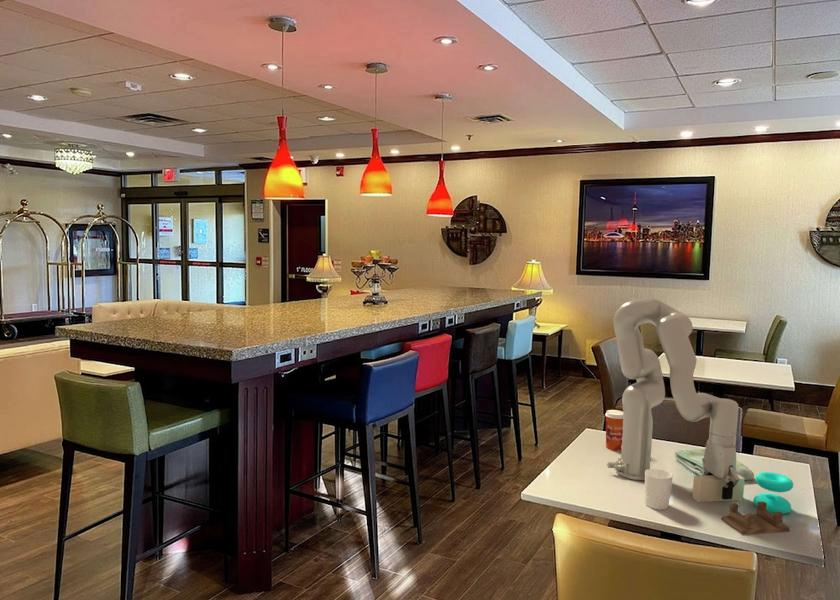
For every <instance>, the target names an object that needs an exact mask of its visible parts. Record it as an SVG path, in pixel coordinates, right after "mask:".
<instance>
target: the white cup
mask: <svg viewBox="0 0 840 600" xmlns="http://www.w3.org/2000/svg"><path fill="white" fill-rule="evenodd" d="M673 476H674V475H673V474H672V473H671V472H670V471H668V470H665V469H661V468H650V469H647V470H645V480H644V504H645V506H646V507H648V508H651V509H654V510H661V511H662V510H667V509H668V508H669V506H670V499H671V491H672V485H673Z"/></svg>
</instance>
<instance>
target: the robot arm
mask: <svg viewBox="0 0 840 600" xmlns="http://www.w3.org/2000/svg"><path fill="white" fill-rule="evenodd" d="M612 321H613V323H612V324H613V331H614V334H615V338H616V345H617V351H618V358H619V364H620V369H621V372H622V374H623V375H624V377H625V378H627V379H628V380H629V379H630V380H636V382H634V383H632V384H630V385H629V386H627V387H626V388H625V390H624V391H623V393H622V397H621V398H622V400H621V402H622V412H623V436H622V447H621V456H620V457H619V458H618V459H617V460H616V461H615V462H614V461H613V462H612V461H608V462H607V464H606V466H607V468H608V469H614V470H615V472H616V474H617V475H619V476H621V477H623V478H625V479H628V480H629V479H630V480H633V481H645V470H647V469H651V457H652V456H651V455H652V444H653V443H652V442H653V426H654V425H653V424H654V421H653V415H652V414H653V413H652V409H653V408H655V407H657V406H658V405H660V404H661V403H662V402H663V401H664V399H665V397H666V389H665V388H666V387H665V382H664V377H663V376H664V375H663V372H662V366H661V361H660V359H659V357H658V355H657V354H656V353H655V351H653V350H652V349H649V348H645V345H644V338H643V335H642V333H641V330H640V328H639V327H640V326H641V325H644V324H645V325H646V324H652V325H653V326H655V329H656V334H657V336H658V339H659V342H660V344H661V348H662V351H663V352H664V355H665V357H666V360H667V363H668V366H669V383H670V391H671V395H672V399H673V401H674V403H675V407H676V409H677V410H678V413H679V414H680V416H681V417H683V419H684V420H686V421H689V422H698V421H700V420H703V419H706V418H709V422H710V423H709V431H708V439H707V441H706V443H705V448H704V449H705V453H704V458H703V459H702V462H703V467H704V470H705V472H704V474H705V475H706V476H710V475H715V476H717V477H718V478H720V479H723V483H724V486H723V488H722V499H723V500H726V499H732V495H733V487H735V485H736V484H737V482H738V481H739V477H738V475H737V473H736V460H737V450H736V441H737V430H738V420H739V418H738V417H739V404H738V402H737V401H736V400H734V399H731V398H730V399H729V398H722V397H721V398H720V397H717V396H714V395H712V394H709V393H706V392H697V391H696V387H695V383H694V373H695V369H696V366H697V360H698V359H697V356H696V354H695V350H694V348H693V346H692V344H691V341H690V338H689V336H690V335H691V334H692V332H693V330H694V329H693V322H692V321H691V319H690V318H689V317H688V316H687V315H686V314H684V313H682V312H681V311H679V310H677V309H675V308H673V307H671V306H670V305H668V304H666V303H665V302H662V301H660V300H658V299H656V298H654V297H644V298H637V299H632V300H629V301H627V302H624V303H623V304H622V305H621V306H620V307H619V308H617V310H616V312H615V314H614V316H613V320H612ZM726 476H728V477H726ZM727 479H729V482H728V483H727Z"/></svg>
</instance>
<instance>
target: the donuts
mask: <svg viewBox="0 0 840 600" xmlns="http://www.w3.org/2000/svg"><path fill="white" fill-rule="evenodd" d="M754 478H755V479H754V480H755V482H756V483H757V485H758V486H760V487H761V488H762V489H764V490H766V491H769V492H768V493H767V492H763V493H758V494H757V495H755V496H754V497H753V504H754V506H755V507H756V508H757V503H758V502H765V503H767V504H766V510H767V511H769V512H770V513H772V514H774V512H779V511H780V512H782V513H783V515H786V514H788V513H790V512H791V510H792V505H791V503H790V502H789V500H788V499H786V498H785V497H783V496H781V495H778V494H776V493H787V492H789V491H791V490H792V489H793V487H794V482H793V480H792V479H791V478H790V477H788V476H786V475H785V474H782V473H777V472H771V471H762V472H759V473H757V474H756V475H755V476H754ZM771 492H774V493H771Z"/></svg>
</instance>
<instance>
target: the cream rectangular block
mask: <svg viewBox="0 0 840 600" xmlns="http://www.w3.org/2000/svg"><path fill="white" fill-rule="evenodd" d="M737 475H738V474H737ZM726 477H728V476H726ZM738 477H739V481H738V482H737V484H736V485H735V487H733V495H732V499H726V500H723V499H722V488H723V486H724V483H723V479H720V478H718V477H717V476H715V475H710V476H695V475H694V476H693V485H692V498H693V500H696V501H697V502H698V503H703V502H722V501H723V502H725V501H741V500H744V490H745V481H746V480H745V478H743V477H741V476H740V475H738ZM728 482H729V479H727V483H728Z"/></svg>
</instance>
